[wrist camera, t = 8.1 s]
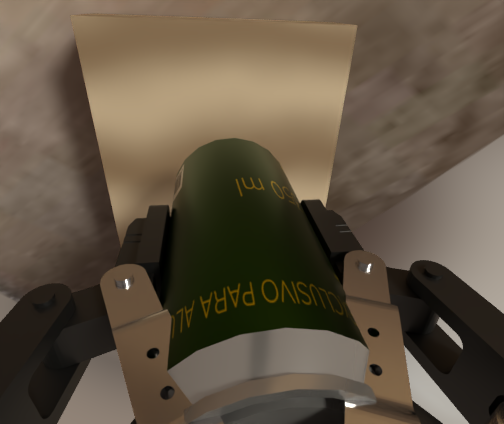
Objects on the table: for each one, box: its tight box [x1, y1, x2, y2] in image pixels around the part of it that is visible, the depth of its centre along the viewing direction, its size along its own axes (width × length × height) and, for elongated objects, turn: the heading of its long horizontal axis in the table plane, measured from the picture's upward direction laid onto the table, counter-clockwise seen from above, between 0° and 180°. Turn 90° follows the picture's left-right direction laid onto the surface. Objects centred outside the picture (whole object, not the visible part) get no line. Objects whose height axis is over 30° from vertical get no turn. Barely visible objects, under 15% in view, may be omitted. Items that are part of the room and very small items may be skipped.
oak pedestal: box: [70, 14, 357, 247], centre depth 22 cm, size 14×14×4 cm
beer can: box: [159, 138, 377, 424], centre depth 12 cm, size 5×5×12 cm
